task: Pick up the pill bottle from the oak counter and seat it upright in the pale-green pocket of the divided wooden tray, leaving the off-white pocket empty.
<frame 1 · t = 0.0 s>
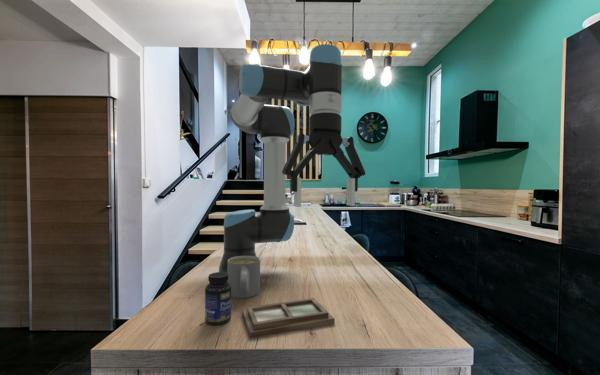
hand: (324, 206, 66), 28 cm above the counter, fingers open, 13 cm apart
pill bottle: (218, 320, 69), on the counter
coffee mug: (242, 294, 86), on the counter
divided wooden tray: (286, 318, 70), on the counter
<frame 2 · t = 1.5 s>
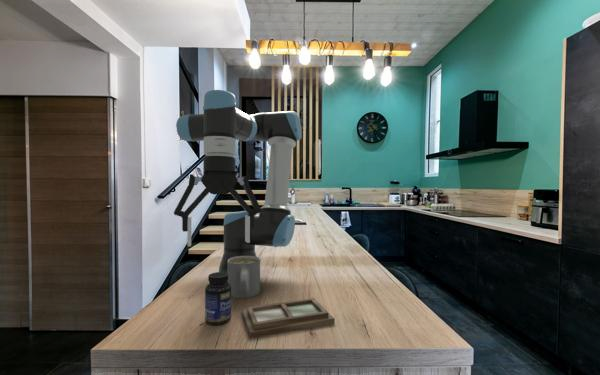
hand: (219, 243, 69), 19 cm above the counter, fingers open, 13 cm apart
nothing on the counter moved.
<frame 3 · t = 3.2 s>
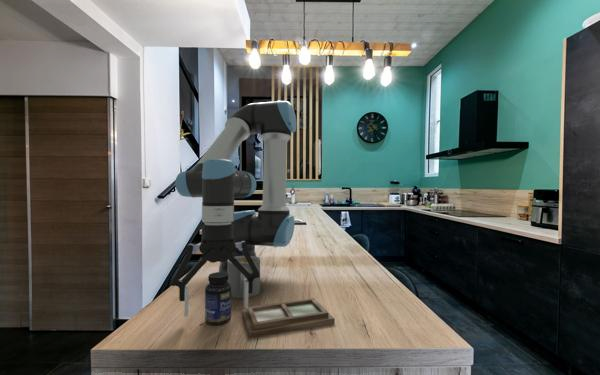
hand: (217, 310, 69), 2 cm above the counter, fingers open, 13 cm apart
nothing on the counter moved.
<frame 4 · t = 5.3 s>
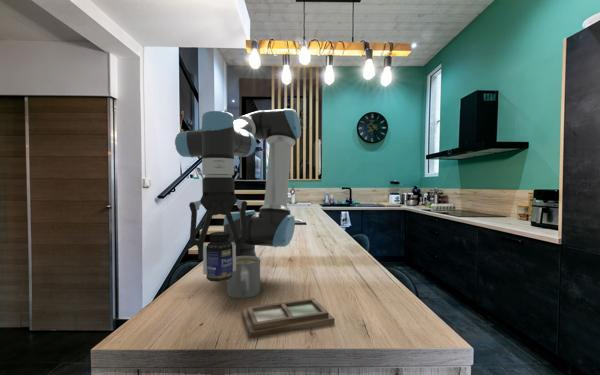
hand: (219, 270, 69), 12 cm above the counter, fingers closed on pill bottle, 6 cm apart
pill bottle: (219, 278, 69), point 10 cm above the counter, touching gripper
everything else where it was.
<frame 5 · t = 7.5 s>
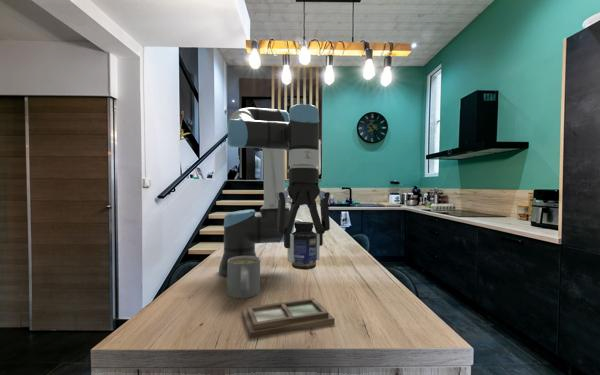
hand: (303, 259, 71), 14 cm above the counter, fingers closed on pill bottle, 6 cm apart
pill bottle: (303, 267, 70), point 12 cm above the counter, touching gripper
everything else where it was.
when the fingers open (4 cm above the counter, at t = 10.0 s): pill bottle stays where it is, resting on divided wooden tray.
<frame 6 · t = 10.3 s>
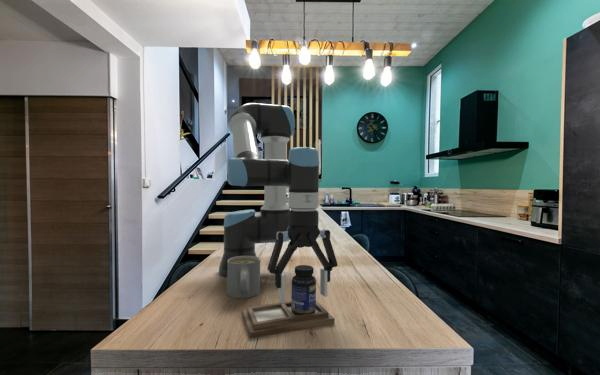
hand: (303, 297, 71), 5 cm above the counter, fingers open, 10 cm apart
pill bottle: (303, 312, 71), point 1 cm above the counter, touching divided wooden tray
everything else where it was.
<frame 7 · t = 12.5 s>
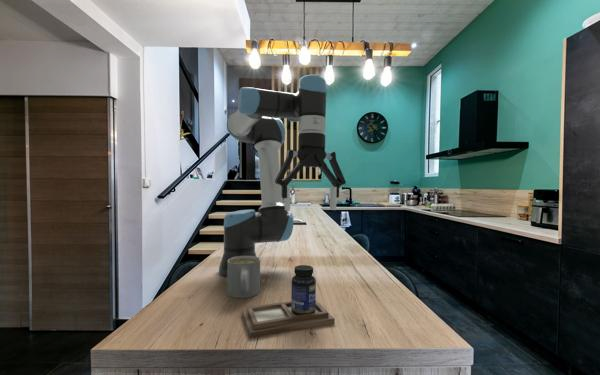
hand: (310, 210, 79), 26 cm above the counter, fingers open, 13 cm apart
nothing on the counter moved.
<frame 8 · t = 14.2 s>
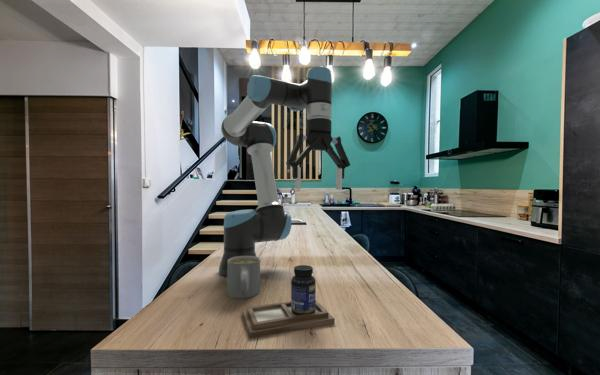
hand: (318, 189, 86), 32 cm above the counter, fingers open, 13 cm apart
nothing on the counter moved.
at the end: pill bottle 0.3 cm from the target spot on the divided wooden tray, point 1.1 cm above the divided wooden tray's base; pill bottle tilted 0°; the gripper is holding nothing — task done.
